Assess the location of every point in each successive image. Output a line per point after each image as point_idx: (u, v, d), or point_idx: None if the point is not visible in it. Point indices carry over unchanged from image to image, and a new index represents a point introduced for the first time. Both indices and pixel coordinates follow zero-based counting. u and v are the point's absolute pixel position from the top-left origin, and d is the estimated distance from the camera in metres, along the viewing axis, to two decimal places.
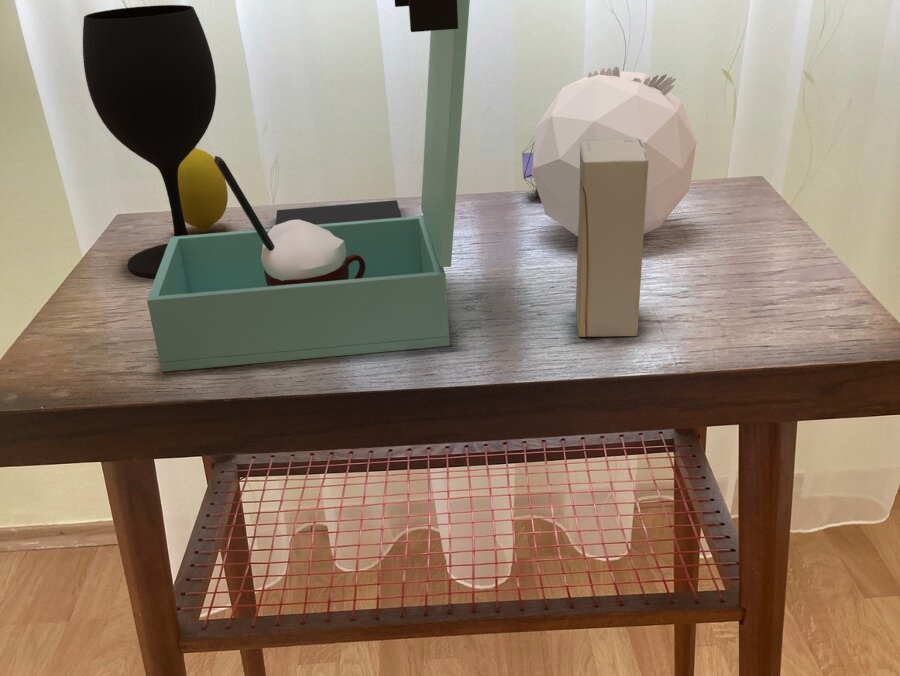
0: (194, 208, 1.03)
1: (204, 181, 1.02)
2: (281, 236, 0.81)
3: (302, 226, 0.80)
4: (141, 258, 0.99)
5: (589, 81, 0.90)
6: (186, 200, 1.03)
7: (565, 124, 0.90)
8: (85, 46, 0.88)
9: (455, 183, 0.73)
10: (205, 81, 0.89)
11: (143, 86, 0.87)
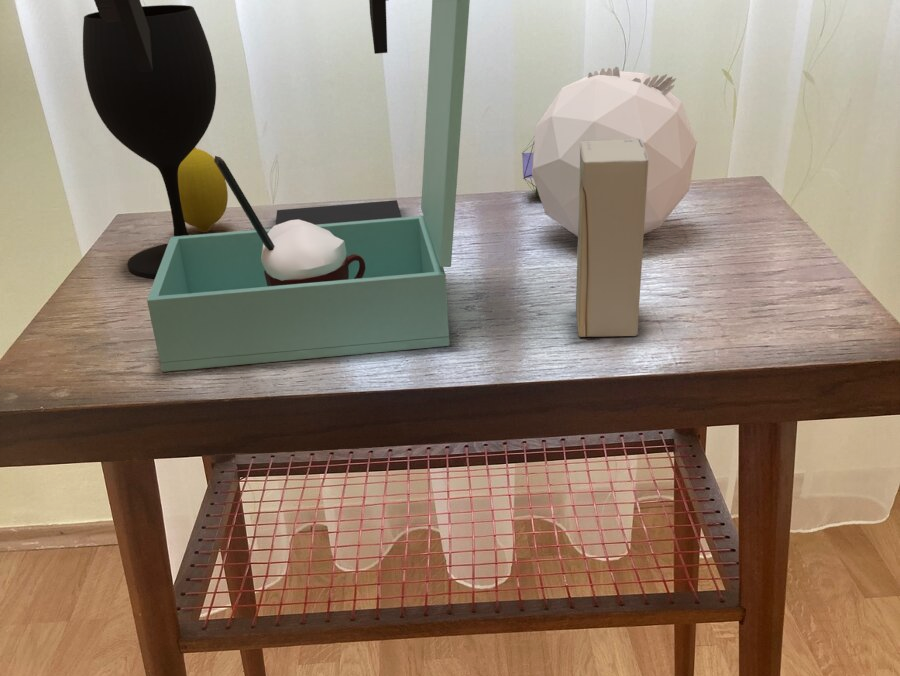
0: (194, 208, 1.03)
1: (204, 181, 1.02)
2: (281, 236, 0.81)
3: (302, 226, 0.80)
4: (141, 258, 0.99)
5: (589, 81, 0.90)
6: (186, 200, 1.03)
7: (565, 124, 0.90)
8: (85, 46, 0.88)
9: (455, 183, 0.73)
10: (205, 81, 0.89)
11: (143, 86, 0.87)
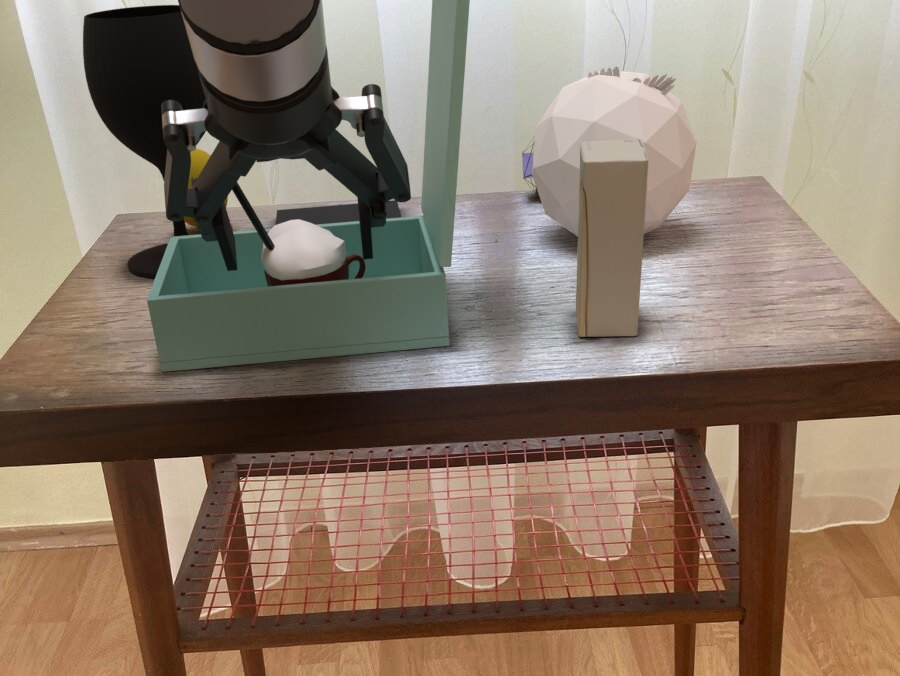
0: None
1: None
2: (281, 236, 0.81)
3: (302, 226, 0.80)
4: (141, 258, 0.99)
5: (589, 81, 0.90)
6: None
7: (565, 124, 0.90)
8: (85, 46, 0.88)
9: (455, 183, 0.73)
10: None
11: (143, 86, 0.87)
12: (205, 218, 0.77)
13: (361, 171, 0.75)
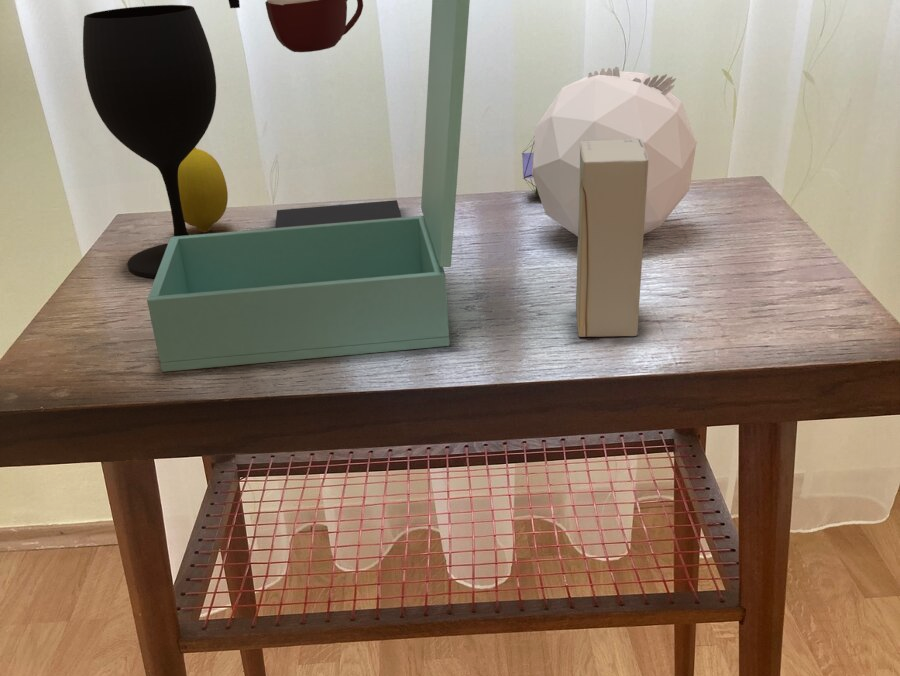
0: (194, 208, 1.03)
1: (204, 181, 1.02)
2: None
3: None
4: (141, 258, 0.99)
5: (589, 81, 0.90)
6: (186, 200, 1.03)
7: (565, 124, 0.90)
8: (85, 46, 0.88)
9: (455, 183, 0.73)
10: (205, 81, 0.89)
11: (143, 86, 0.87)
12: None
13: None
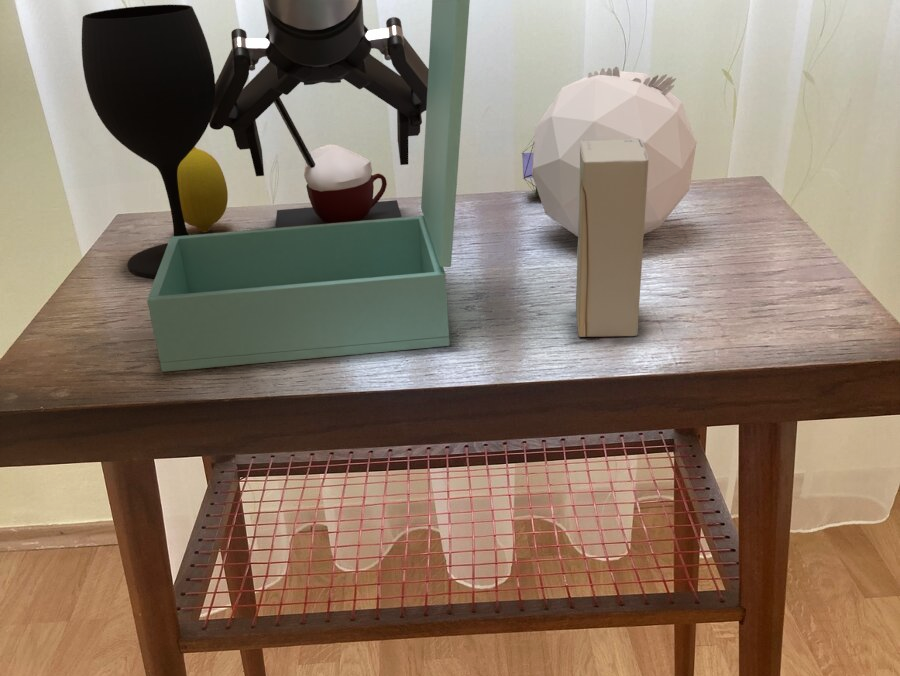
0: (194, 208, 1.03)
1: (204, 181, 1.02)
2: (320, 156, 1.01)
3: (337, 149, 1.01)
4: (141, 258, 0.99)
5: (589, 81, 0.90)
6: (186, 200, 1.03)
7: (565, 124, 0.90)
8: (84, 46, 0.87)
9: (455, 183, 0.73)
10: (204, 81, 0.89)
11: (142, 86, 0.87)
12: (240, 127, 0.96)
13: (396, 87, 0.94)
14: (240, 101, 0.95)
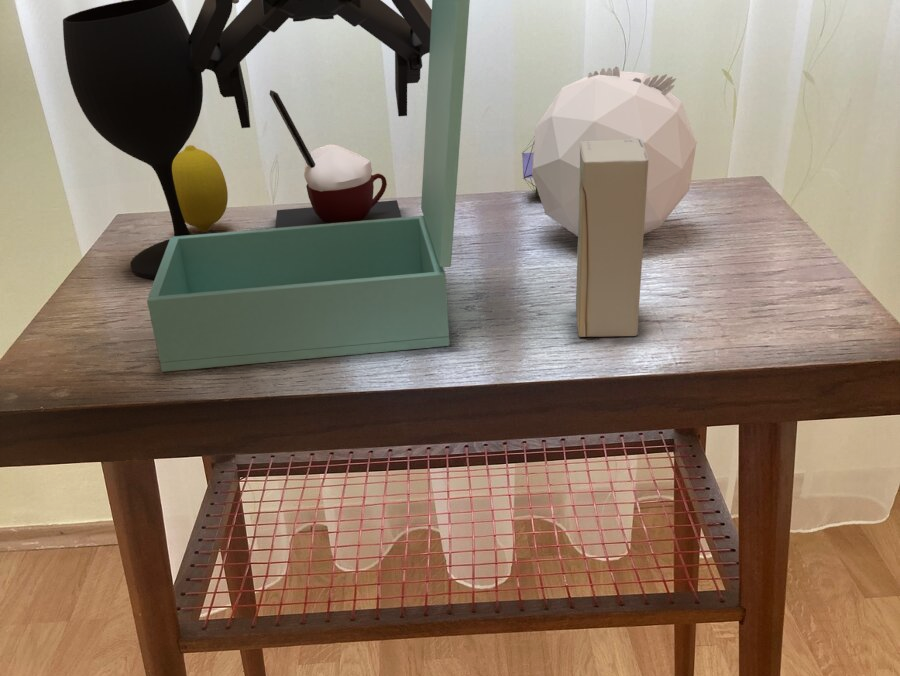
0: (194, 208, 1.03)
1: (204, 181, 1.02)
2: (320, 156, 1.01)
3: (337, 149, 1.01)
4: (144, 256, 0.99)
5: (589, 81, 0.90)
6: (186, 200, 1.03)
7: (565, 124, 0.90)
8: (65, 50, 0.87)
9: (455, 183, 0.73)
10: (185, 77, 0.88)
11: (119, 88, 0.86)
12: (224, 70, 0.88)
13: (394, 26, 0.86)
14: (223, 41, 0.87)
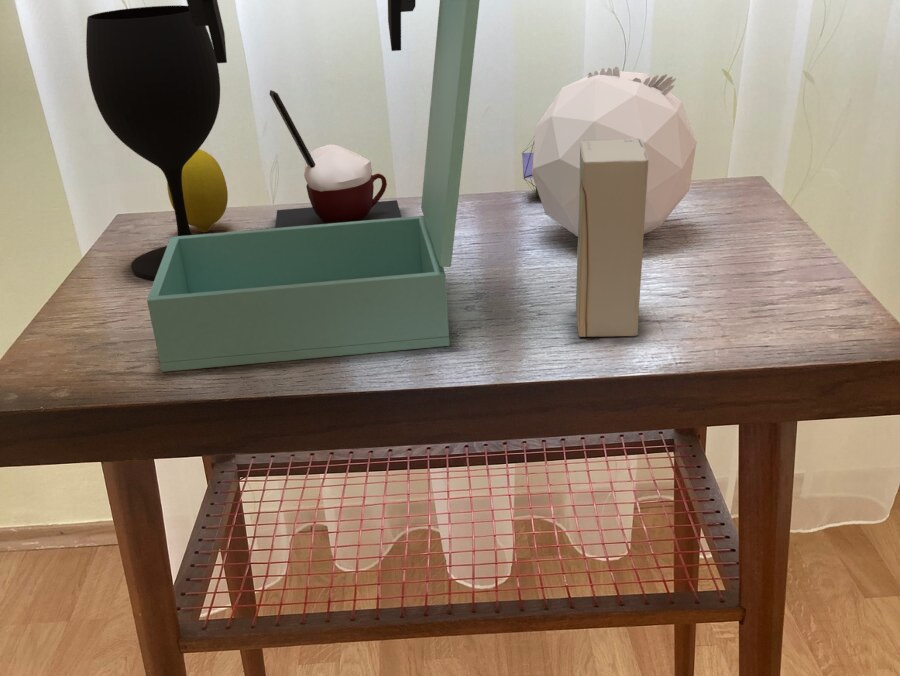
0: (194, 208, 1.03)
1: (204, 181, 1.02)
2: (320, 156, 1.01)
3: (337, 149, 1.01)
4: (145, 258, 0.99)
5: (589, 81, 0.90)
6: (186, 200, 1.03)
7: (565, 124, 0.90)
8: (86, 46, 0.88)
9: (458, 183, 0.73)
10: (203, 84, 0.88)
11: (136, 88, 0.86)
12: None
13: None
14: None
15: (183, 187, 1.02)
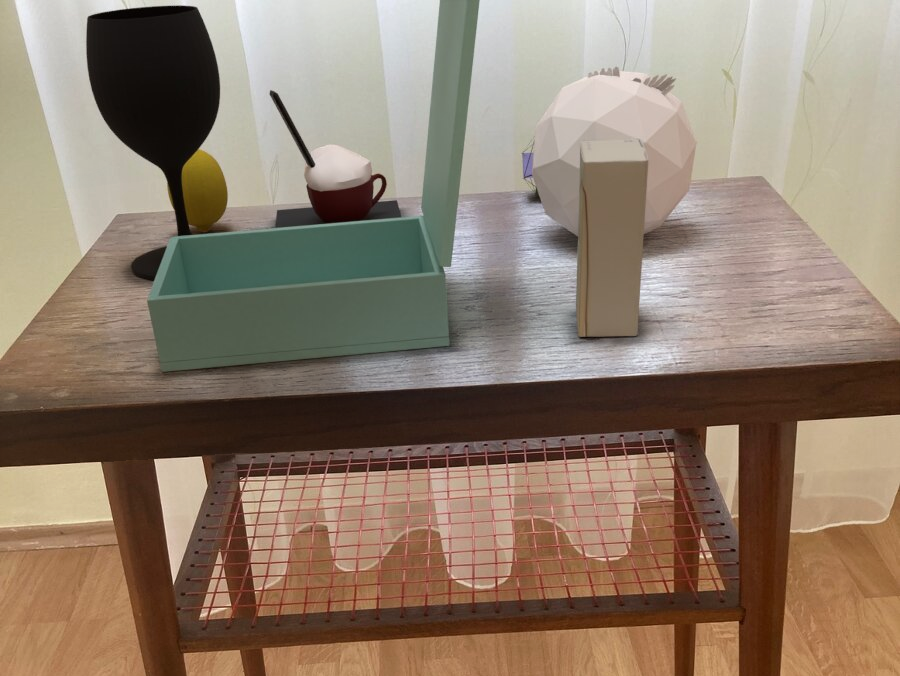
0: (194, 208, 1.03)
1: (204, 181, 1.02)
2: (320, 156, 1.01)
3: (337, 149, 1.01)
4: (145, 258, 0.99)
5: (589, 81, 0.90)
6: (186, 200, 1.03)
7: (565, 124, 0.90)
8: (86, 46, 0.88)
9: (458, 183, 0.73)
10: (203, 84, 0.88)
11: (136, 88, 0.86)
12: None
13: None
14: None
15: (183, 187, 1.02)
